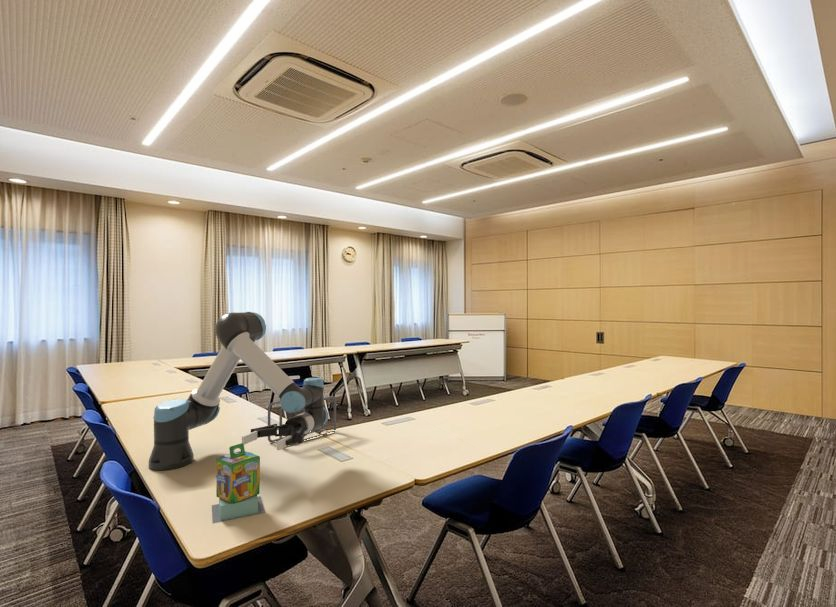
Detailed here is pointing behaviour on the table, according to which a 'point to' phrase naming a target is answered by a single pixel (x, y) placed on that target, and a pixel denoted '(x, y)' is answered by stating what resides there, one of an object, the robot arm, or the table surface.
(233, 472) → the chalk box
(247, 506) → the pedestal
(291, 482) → the table surface
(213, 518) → the mat
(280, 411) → the newton's cradle
